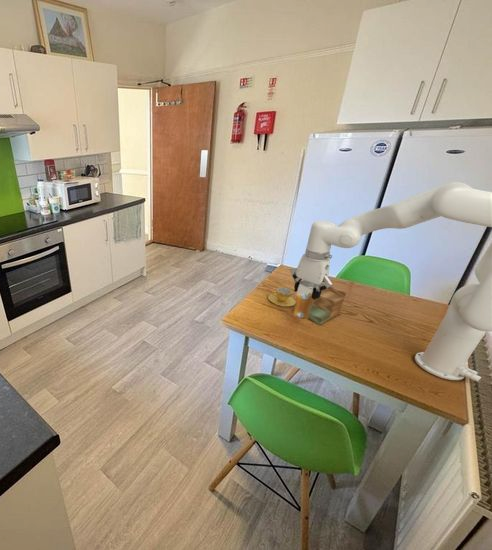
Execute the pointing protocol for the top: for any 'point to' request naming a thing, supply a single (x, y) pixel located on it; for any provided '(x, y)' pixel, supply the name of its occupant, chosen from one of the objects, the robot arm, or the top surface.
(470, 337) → the robot arm
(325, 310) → the shelf riser
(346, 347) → the top surface
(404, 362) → the top surface
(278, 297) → the cup
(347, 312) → the top surface
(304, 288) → the beer glass
